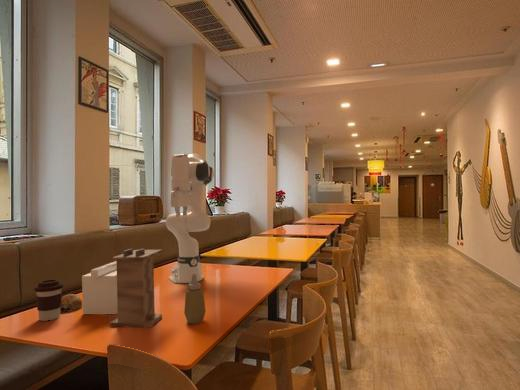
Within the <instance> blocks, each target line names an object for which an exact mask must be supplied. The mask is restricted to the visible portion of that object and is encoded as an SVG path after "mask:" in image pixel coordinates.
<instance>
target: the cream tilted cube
mask: <svg viewBox="0 0 520 390" xmlns="http://www.w3.org/2000/svg"><path fill="white" fill-rule="evenodd" d="M81 288H82V289H81V292H82V299H81V300H82V315H83V314H116V313H117V314H118V308H117V270H115V271H113V272H110V273H108V274H105V275H103V276H100V277H91V272H88V273H86V274H84V275H82V276H81ZM117 314H116V315H117Z"/></svg>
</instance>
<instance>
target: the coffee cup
mask: <svg viewBox="0 0 520 390" xmlns="http://www.w3.org/2000/svg"><path fill="white" fill-rule="evenodd" d="M33 288H34V292H36V296H35V298H36V308H37V312H38V313H37V314H38V320H40V321H41V322H49V321H48V320H50V321H54V320H57V319H59V318H60V316H61V312H60V307H61V300H62V297H63V292H62V289H63V288H64V283H63V282H60V281H59V279H46V280H42V281H39V283H38V284H37V285H35V286H34V287H33Z"/></svg>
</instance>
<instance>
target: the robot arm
mask: <svg viewBox="0 0 520 390" xmlns="http://www.w3.org/2000/svg"><path fill="white" fill-rule="evenodd" d="M170 162H171V163H170V165H171V166H170V176H171V181H170V182H171V184H170V185H171V186H170V187H171V192H170V193H171V194H170V208H174V211H175V212H174V213H171V214H169V215H168V216H167V217H166V220H165V227H166V228H167V230H168V231H170V232H171V233H172V234H173V236H174V237H175V239H176V241H177V246H178V256H177V263H176V264H175V265H174V266H173V268H172V269H171V275H169V276H168V280H170V281H171V282H172V283H174V284H190V283H191V280H192V275H193V274H196V278H197V282H198V283H199V282H201V281H202V280H203V279H204V278H205V276H204V275H203V270H202V269H203V268H202V263H200V254H199V252H200V251H199V242H198V239H196V238H194V237H192V236H190V234H189V233H191V232H193V233H194V232H195V233H197V232H203V231H208V230H209V228H210V227H211V217H210V216H209V214H208V213H206V211H204V210H203V208H202V205H203V204H202V202H203V198H204V185H205V187H207V186H208V184H210V183H211V182H212V181H213V178H214V177H215V172H214V168H213V167H212V166H210V165H209V164H208V161H207V160H205V159H203V158H202V156H201V155H200V154H198V153H190V154H186V153H177V154H173V155H172V156H171V161H170ZM181 207H182V212H181V211H180V210H181Z"/></svg>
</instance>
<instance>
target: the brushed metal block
mask: <svg viewBox="0 0 520 390" xmlns="http://www.w3.org/2000/svg"><path fill="white" fill-rule="evenodd" d="M115 270H117V260H114V261H113V262H109V263H106V264H104V265H100V266H98V267H95V268H93V269H91V270H90V273H91V277H100V276H103V275H105V274H108V273H110V272H113V271H115Z"/></svg>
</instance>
